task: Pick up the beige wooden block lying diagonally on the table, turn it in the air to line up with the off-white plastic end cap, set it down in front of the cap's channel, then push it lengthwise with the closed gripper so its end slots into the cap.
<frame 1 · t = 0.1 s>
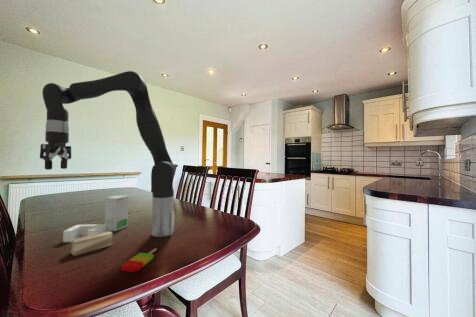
hand: (56, 169, 87), 29 cm above the table, fingers open, 8 cm apart
popsicle: (143, 261, 69), on the table
skincare box: (116, 228, 99), on the table
beige wooden block: (92, 249, 76), on the table
end cap: (85, 238, 86), on the table
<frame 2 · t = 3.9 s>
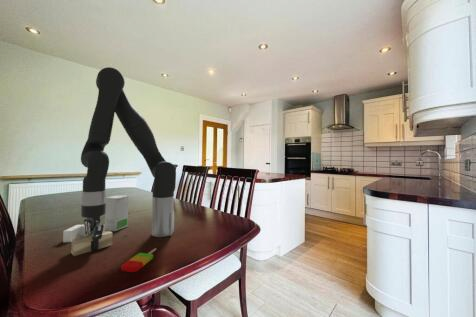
hand: (92, 248, 76), 0 cm above the table, fingers closed on beige wooden block, 3 cm apart
beige wooden block: (92, 249, 76), on the table, touching gripper
everything else where it was.
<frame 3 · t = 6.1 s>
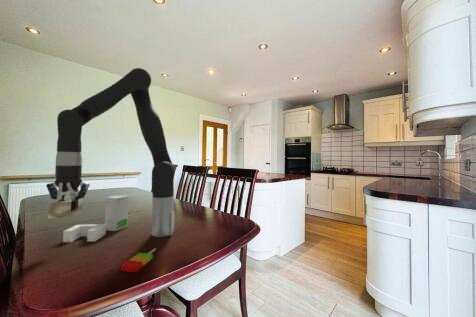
hand: (67, 210, 75), 15 cm above the table, fingers closed on beige wooden block, 3 cm apart
beige wooden block: (66, 215, 74), point 13 cm above the table, tilted 5°, touching gripper
everything else where it was.
when the fingers open (1 cm above the table, at t = 8.4 s): beige wooden block stays where it is, on the table.
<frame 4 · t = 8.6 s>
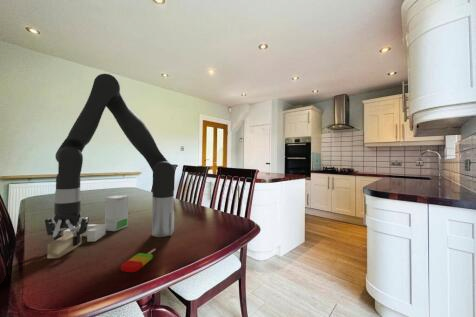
hand: (66, 245, 75), 1 cm above the table, fingers open, 5 cm apart
beige wooden block: (65, 250, 74), on the table
everything else where it was.
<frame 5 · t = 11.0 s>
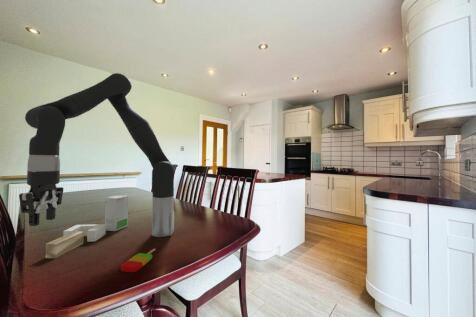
hand: (42, 222, 64), 14 cm above the table, fingers open, 5 cm apart
nothing on the table moved.
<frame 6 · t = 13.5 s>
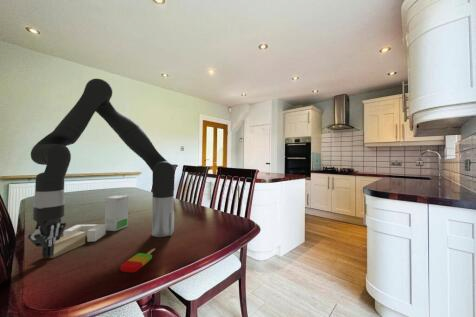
hand: (48, 256, 66), 2 cm above the table, fingers closed
beige wooden block: (66, 250, 75), on the table, touching gripper
everything else where it was.
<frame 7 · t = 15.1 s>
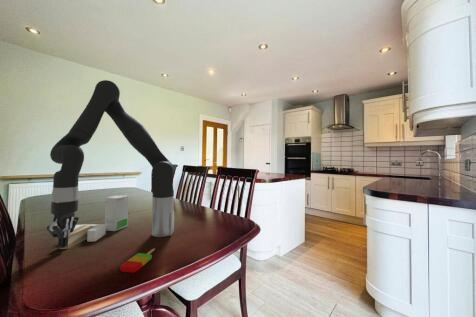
hand: (62, 247, 73), 2 cm above the table, fingers closed
beige wooden block: (76, 242, 82), on the table, touching end cap, gripper
everything else where it was.
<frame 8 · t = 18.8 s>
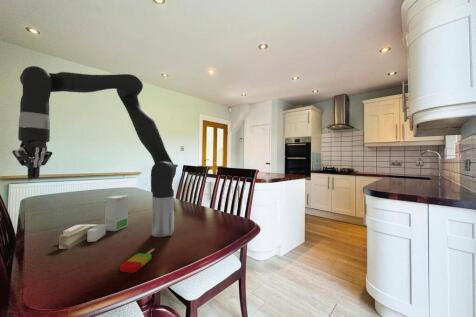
hand: (33, 178, 68), 27 cm above the table, fingers closed
beige wooden block: (76, 242, 82), on the table
everything else where it was.
at the end: beige wooden block 1.6 cm from the target spot on the table beside the end cap, on the table; beige wooden block tilted 0°; the gripper is holding nothing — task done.
